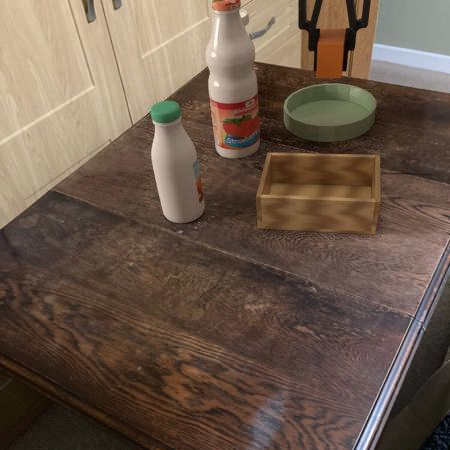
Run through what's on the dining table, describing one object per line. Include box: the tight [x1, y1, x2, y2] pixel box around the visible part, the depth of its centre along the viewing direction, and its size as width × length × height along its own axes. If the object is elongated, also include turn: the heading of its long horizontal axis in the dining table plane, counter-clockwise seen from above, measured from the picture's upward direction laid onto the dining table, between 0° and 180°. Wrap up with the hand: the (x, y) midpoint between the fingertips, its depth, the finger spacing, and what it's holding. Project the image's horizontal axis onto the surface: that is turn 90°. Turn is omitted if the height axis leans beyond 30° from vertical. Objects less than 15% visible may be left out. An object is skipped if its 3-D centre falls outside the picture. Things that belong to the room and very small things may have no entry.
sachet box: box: [315, 28, 346, 79], centre depth 90 cm, size 4×7×6 cm, turn 168°
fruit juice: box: [205, 0, 261, 159], centre depth 93 cm, size 9×9×28 cm
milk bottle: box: [150, 100, 206, 224], centre depth 83 cm, size 8×8×20 cm
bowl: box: [283, 82, 377, 143], centre depth 106 cm, size 19×19×4 cm
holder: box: [255, 151, 382, 236], centre depth 85 cm, size 20×14×7 cm
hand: (330, 68), depth 92 cm, fingers closed on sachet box, 4 cm apart
